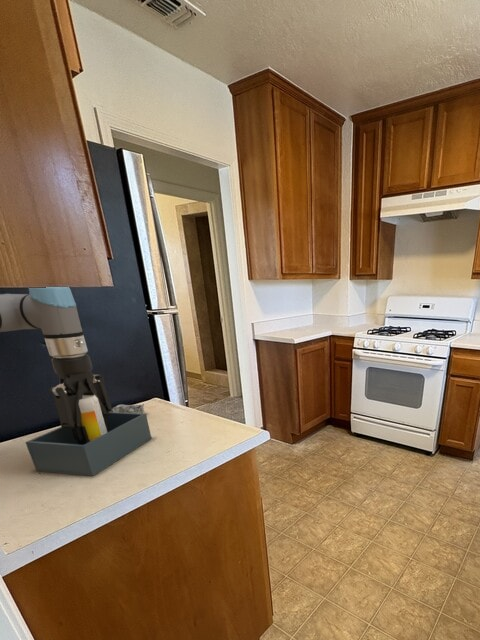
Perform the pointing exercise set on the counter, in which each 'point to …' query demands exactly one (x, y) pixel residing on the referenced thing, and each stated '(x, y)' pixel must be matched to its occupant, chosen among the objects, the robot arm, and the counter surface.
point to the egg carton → (129, 409)
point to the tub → (89, 446)
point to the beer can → (92, 416)
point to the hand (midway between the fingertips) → (96, 444)
